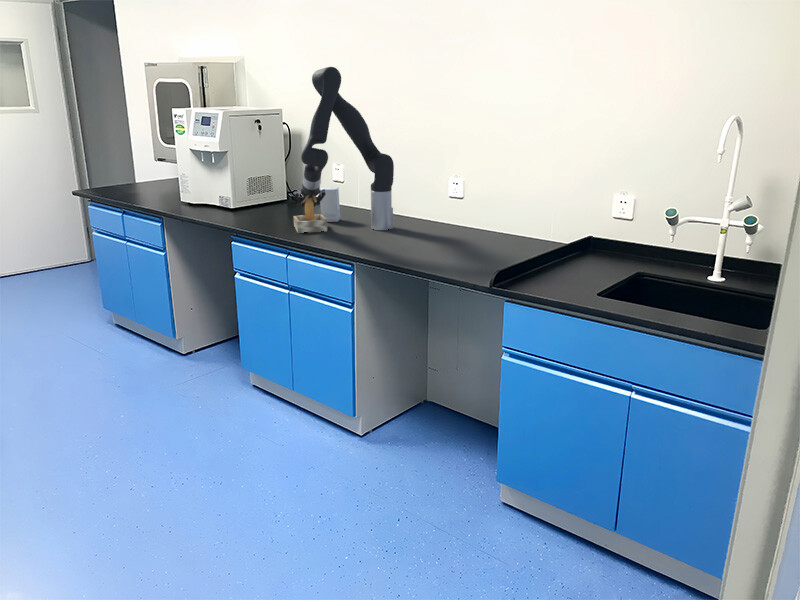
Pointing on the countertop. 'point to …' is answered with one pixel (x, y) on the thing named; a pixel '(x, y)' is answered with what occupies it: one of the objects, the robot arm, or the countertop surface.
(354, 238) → the countertop surface
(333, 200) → the skincare box
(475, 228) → the countertop surface
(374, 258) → the countertop surface
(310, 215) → the peg
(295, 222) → the box
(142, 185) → the countertop surface
